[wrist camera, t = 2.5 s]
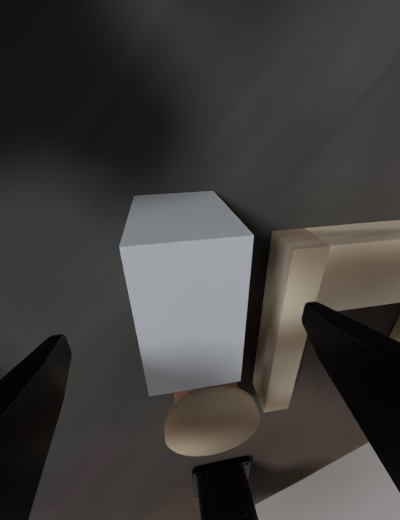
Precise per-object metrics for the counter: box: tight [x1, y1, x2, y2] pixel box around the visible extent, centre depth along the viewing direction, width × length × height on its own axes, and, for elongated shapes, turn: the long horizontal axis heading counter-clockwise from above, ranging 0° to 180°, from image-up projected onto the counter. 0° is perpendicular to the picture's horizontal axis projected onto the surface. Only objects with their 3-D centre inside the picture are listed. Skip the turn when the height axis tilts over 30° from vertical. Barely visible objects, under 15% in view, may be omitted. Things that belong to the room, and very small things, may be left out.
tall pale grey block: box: [119, 191, 254, 396], centre depth 11 cm, size 7×4×6 cm, turn 1°
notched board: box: [253, 220, 400, 413], centre depth 17 cm, size 14×14×2 cm
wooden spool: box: [164, 382, 260, 456], centre depth 16 cm, size 6×6×5 cm
